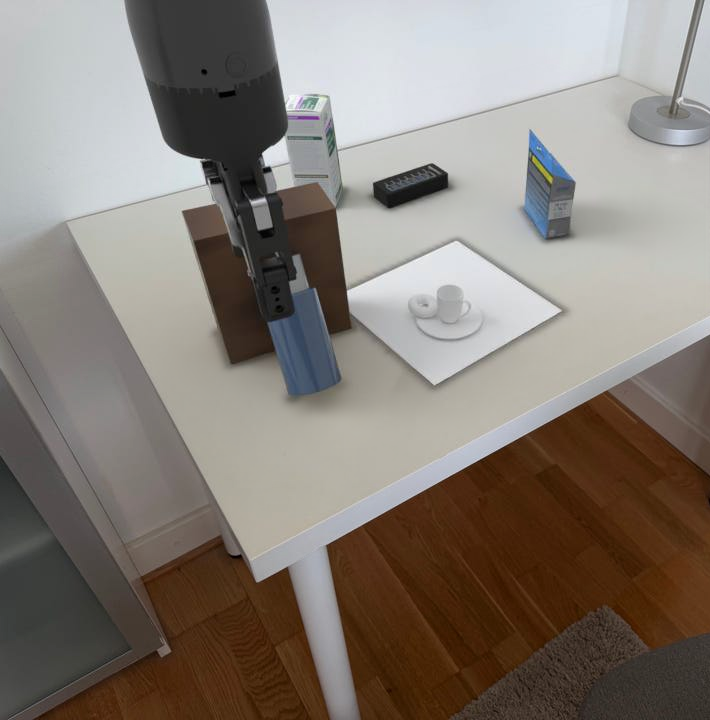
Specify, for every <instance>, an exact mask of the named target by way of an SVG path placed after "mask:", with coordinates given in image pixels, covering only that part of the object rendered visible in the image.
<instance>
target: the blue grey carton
mask: <svg viewBox="0 0 710 720" xmlns="http://www.w3.org/2000/svg"><path fill="white" fill-rule="evenodd" d="M528 130H529V132H528V154H527V166H526V167H527V168H526V181H525V193H524V205H523V210H525V212H526V213H527V215H528V217H529V218H530V219H531V221H532V223H533V224H534V225H535V227H536V228H537V229H538V231H539V232H540V233H541V235H542V237H543V239H545V240H548V239H555V238H561V237H567V236H569V235H570V228H571V227H570V226H571V220H572V212H573V205H574V200H575V199H574V198H575V191H576V184H577V183H576V181H575V180H574V178H572V176H571V175H570V174H569V173H568V172H567V171H566V169H565V168H564V167H563V166H562V165H561V163H560V162H559V161H558V160H557V158H556V157H554V155H553V154H552V153H551V152H550V151H549V150H548V149H547V148H546V147H545V145H544V144H543V142H542V141H541V140H540V139H539V138H538V136H537V135H536V134H535V133H534V132H533V130H532V129H530V128H529V129H528Z"/></svg>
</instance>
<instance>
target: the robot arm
mask: <svg viewBox="0 0 710 720" xmlns="http://www.w3.org/2000/svg"><path fill="white" fill-rule="evenodd" d="M123 3H124V9H125V14H126V19H127V25H128V28H129V31H130V35H131V38H132V42H133V45H134V48H135V51H136V54H137V58H138V61H139V64H140V68H141V71H142V74H143V78H144V81H145V84H146V87H147V88H146V89H147V91H148V95H149V97H150V101H151V104H152V107H153V110H154V113H155V118H156V120H157V123H158V127H159V131H160V133H161V136H162V139H163V141H164V143H165V144H166V145H167V146H168V147H169V148H170V150H172V151H174V152H176V153H178V154H180V155H181V156H185V157H188V158H191V159H196V160H199V166H200V170H201V172H202V176H203V178H204V181H205V184H206V185H207V188H208V191H209V195H210V198H211V200H212V202H214V204H217V207H218V208H220V210H221V212H222V214H223V217H224V220H225V223H226V227H227V230H228V234H229V238H230V241H231V245H232V249H233V251H234V254H235V256H236V257H238V258H243V257H245V260H246V263H247V266H248V269H249V270H247V272H248V275H249V277H251V278H252V281H253V284H254V288H255V292H256V296H257V300H258V304H259V308H260V312H261V315H262V317H263V319H264V320H265V321H266V322H273V321H277V320H280V319H284V318H287V317H290V316H292V315H293V314H294V312H295V309H294V304H293V299H292V294H291V289H290V284H289V281H293V280H296V279H297V277H296V274H297V270H296V267H295V266H294V263H293V258H292V253H291V248H290V243H289V238H288V234H287V229H286V224H285V219H284V214H283V209H282V206H283V202H282V199H281V197H279V195H278V193H277V192H275V191H277V188H278V185H277V182H276V178H275V175H274V172H273V169H272V166H271V165H266V163H265V159H264V155H263V154H264V152H265V151H267V150H268V149H270V148H271V147H274V146H276V145H277V144H278V143H279V142H280V141H282V139H283V138H285V134H286V132H287V129H288V117H287V112H286V106H285V103H286V100H285V95H284V89H283V83H282V77H281V72H280V65H279V59H278V54H277V48H276V42H275V36H274V29H273V25H272V19H271V14H270V9H269V5H268V1H267V0H123ZM271 253H276V257H274V258H270V259H266V260H262V261H260V258H261V257H262V256H263V255H267V254H271Z"/></svg>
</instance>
